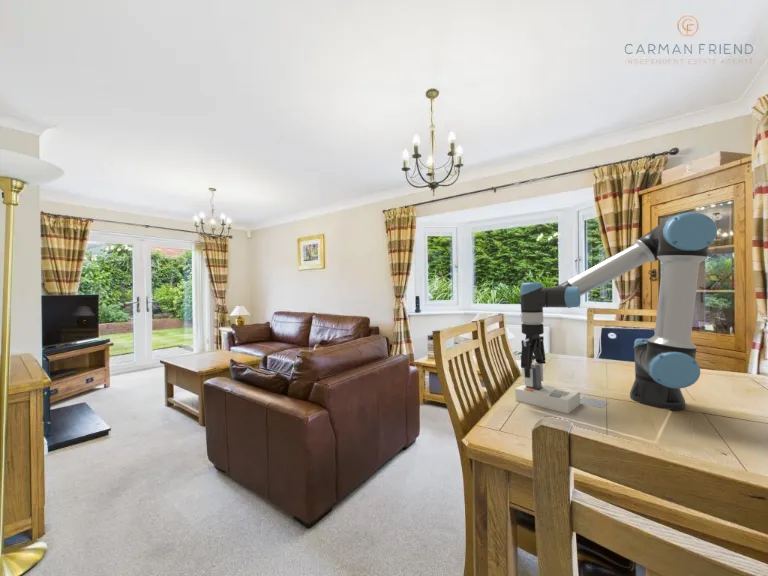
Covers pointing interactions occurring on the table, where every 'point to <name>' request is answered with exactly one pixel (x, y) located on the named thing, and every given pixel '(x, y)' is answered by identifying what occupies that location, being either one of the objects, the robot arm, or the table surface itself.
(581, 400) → the mat
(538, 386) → the grey tall block
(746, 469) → the table surface
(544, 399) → the socket block
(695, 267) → the robot arm
